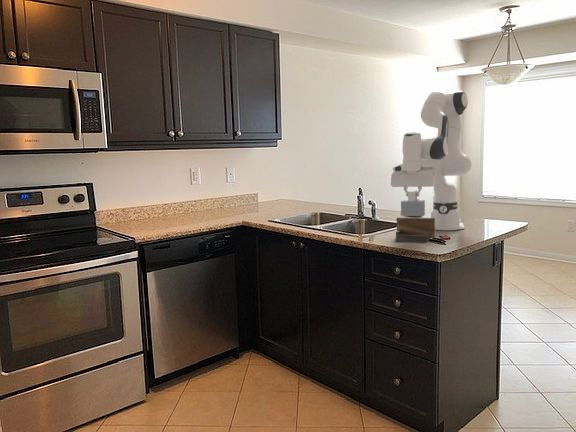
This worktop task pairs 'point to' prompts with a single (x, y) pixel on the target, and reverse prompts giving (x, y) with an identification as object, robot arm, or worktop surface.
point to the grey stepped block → (412, 205)
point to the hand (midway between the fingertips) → (412, 196)
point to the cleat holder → (415, 229)
